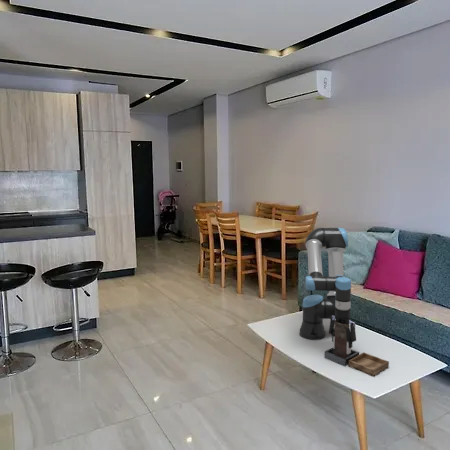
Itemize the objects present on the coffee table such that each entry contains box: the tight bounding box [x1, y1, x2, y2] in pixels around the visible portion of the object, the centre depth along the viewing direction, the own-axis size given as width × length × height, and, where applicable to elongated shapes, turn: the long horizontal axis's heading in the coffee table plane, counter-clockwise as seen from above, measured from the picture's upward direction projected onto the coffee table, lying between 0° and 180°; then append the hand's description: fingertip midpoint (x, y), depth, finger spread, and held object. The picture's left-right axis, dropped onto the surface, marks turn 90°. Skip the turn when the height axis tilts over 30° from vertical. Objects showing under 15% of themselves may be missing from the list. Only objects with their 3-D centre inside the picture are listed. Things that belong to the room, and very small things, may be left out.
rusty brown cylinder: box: [334, 319, 350, 358], centre depth 205 cm, size 8×7×20 cm
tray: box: [348, 352, 390, 377], centre depth 197 cm, size 14×14×3 cm
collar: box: [323, 347, 360, 367], centre depth 206 cm, size 12×12×4 cm
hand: (341, 350), depth 206 cm, fingers closed on rusty brown cylinder, 7 cm apart
